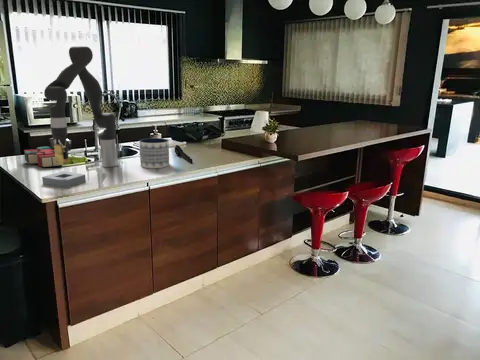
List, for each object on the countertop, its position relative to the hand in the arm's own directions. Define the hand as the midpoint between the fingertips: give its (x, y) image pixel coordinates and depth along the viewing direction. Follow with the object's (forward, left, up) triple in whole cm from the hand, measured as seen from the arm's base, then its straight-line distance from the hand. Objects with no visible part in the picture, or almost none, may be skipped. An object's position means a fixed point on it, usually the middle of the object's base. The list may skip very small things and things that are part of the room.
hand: (62, 158), depth 207 cm
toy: (-30, -45, -14) cm, 56 cm away
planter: (-56, +19, -14) cm, 61 cm away
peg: (0, 0, -2) cm, 2 cm away
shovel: (-82, +24, -14) cm, 87 cm away
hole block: (0, 0, -14) cm, 14 cm away
